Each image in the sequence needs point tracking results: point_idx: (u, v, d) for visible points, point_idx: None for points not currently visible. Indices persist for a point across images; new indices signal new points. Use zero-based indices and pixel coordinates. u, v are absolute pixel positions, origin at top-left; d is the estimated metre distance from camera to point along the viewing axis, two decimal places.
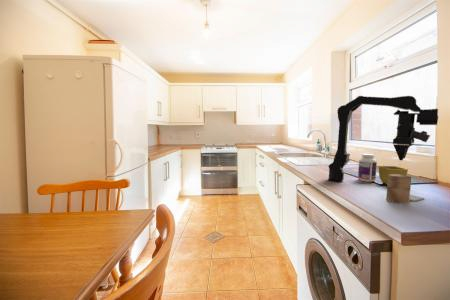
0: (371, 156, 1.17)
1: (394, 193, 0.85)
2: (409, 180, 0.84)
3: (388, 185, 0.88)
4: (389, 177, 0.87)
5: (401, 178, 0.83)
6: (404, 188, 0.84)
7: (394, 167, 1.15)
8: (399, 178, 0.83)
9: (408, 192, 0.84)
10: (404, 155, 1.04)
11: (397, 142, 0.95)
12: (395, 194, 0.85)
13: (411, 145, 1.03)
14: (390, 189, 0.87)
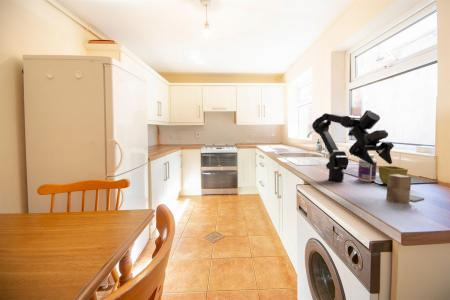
0: (371, 156, 1.17)
1: (394, 193, 0.85)
2: (409, 180, 0.84)
3: (388, 185, 0.88)
4: (389, 177, 0.87)
5: (401, 178, 0.83)
6: (404, 188, 0.84)
7: (394, 167, 1.15)
8: (399, 178, 0.83)
9: (408, 192, 0.84)
10: (389, 160, 0.94)
11: (351, 151, 0.97)
12: (395, 194, 0.85)
13: (387, 148, 0.96)
14: (390, 189, 0.87)
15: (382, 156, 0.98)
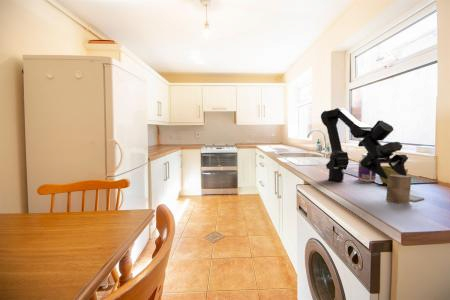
0: None
1: (394, 193, 0.85)
2: (409, 180, 0.84)
3: (388, 185, 0.88)
4: (389, 177, 0.87)
5: (401, 178, 0.83)
6: (404, 188, 0.84)
7: None
8: (399, 178, 0.83)
9: (408, 192, 0.84)
10: (403, 174, 0.88)
11: (363, 164, 0.91)
12: (395, 194, 0.85)
13: (401, 161, 0.90)
14: (390, 189, 0.87)
15: (395, 169, 0.92)
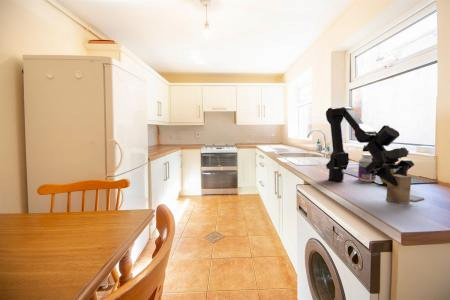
0: (371, 156, 1.17)
1: (394, 193, 0.85)
2: (409, 180, 0.84)
3: (388, 185, 0.87)
4: None
5: (401, 178, 0.83)
6: (404, 188, 0.84)
7: None
8: (399, 178, 0.83)
9: (408, 192, 0.84)
10: None
11: (368, 170, 0.89)
12: (395, 194, 0.85)
13: (403, 167, 0.87)
14: (390, 189, 0.87)
15: None
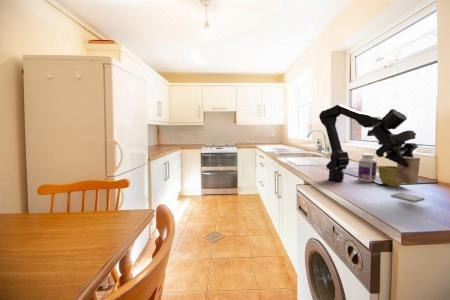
0: (371, 156, 1.17)
1: (405, 174, 0.87)
2: (418, 161, 0.86)
3: (398, 167, 0.89)
4: None
5: (412, 159, 0.85)
6: (414, 169, 0.86)
7: (394, 167, 1.15)
8: (410, 159, 0.85)
9: (417, 173, 0.87)
10: None
11: (379, 153, 0.89)
12: (406, 175, 0.87)
13: (410, 149, 0.90)
14: (400, 171, 0.88)
15: None
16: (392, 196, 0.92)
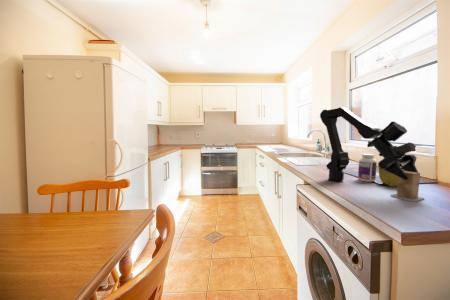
0: (371, 156, 1.17)
1: (406, 189, 0.89)
2: (418, 176, 0.89)
3: (399, 181, 0.91)
4: None
5: (414, 174, 0.87)
6: (415, 184, 0.88)
7: None
8: (412, 174, 0.87)
9: (417, 187, 0.89)
10: None
11: (382, 165, 0.90)
12: (407, 190, 0.89)
13: (413, 161, 0.93)
14: (402, 185, 0.90)
15: (406, 169, 0.95)
16: (392, 196, 0.92)
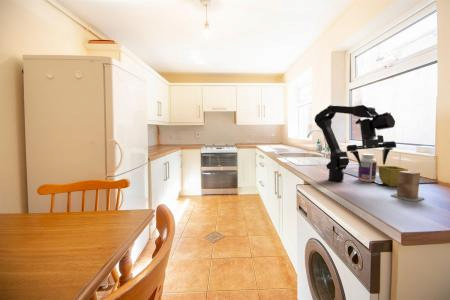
0: (371, 156, 1.17)
1: (406, 189, 0.89)
2: (418, 176, 0.89)
3: (399, 181, 0.91)
4: (400, 174, 0.91)
5: (414, 174, 0.87)
6: (415, 184, 0.88)
7: (394, 167, 1.15)
8: (412, 174, 0.87)
9: (417, 187, 0.89)
10: (383, 161, 1.00)
11: None
12: (407, 190, 0.89)
13: (384, 150, 0.98)
14: (402, 185, 0.90)
15: (382, 153, 1.02)
16: (392, 196, 0.92)
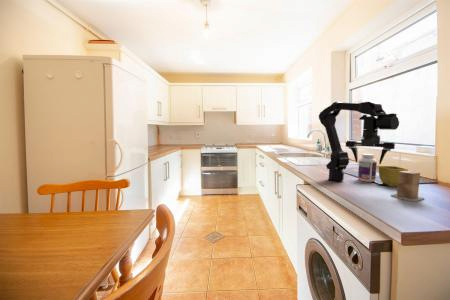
0: (371, 156, 1.17)
1: (406, 189, 0.89)
2: (418, 176, 0.89)
3: (399, 181, 0.91)
4: (400, 174, 0.91)
5: (414, 174, 0.87)
6: (415, 184, 0.88)
7: (394, 167, 1.15)
8: (412, 174, 0.87)
9: (417, 187, 0.89)
10: (379, 161, 1.01)
11: None
12: (407, 190, 0.89)
13: None
14: (402, 185, 0.90)
15: None
16: (392, 196, 0.92)
